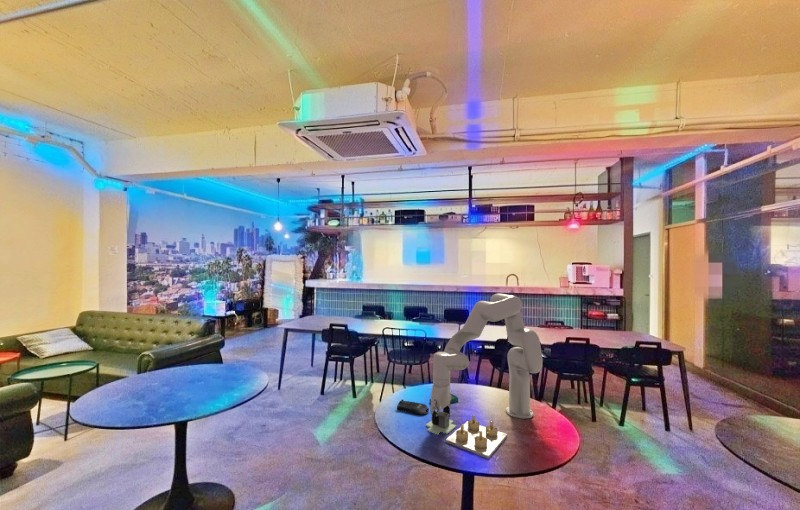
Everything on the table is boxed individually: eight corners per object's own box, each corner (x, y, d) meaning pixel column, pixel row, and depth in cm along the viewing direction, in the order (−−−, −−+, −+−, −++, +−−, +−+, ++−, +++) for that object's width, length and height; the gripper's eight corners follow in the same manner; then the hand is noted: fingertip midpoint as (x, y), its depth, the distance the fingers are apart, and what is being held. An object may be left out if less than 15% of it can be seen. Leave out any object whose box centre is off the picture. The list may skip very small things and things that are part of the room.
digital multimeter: (428, 403, 170) (428, 398, 170) (448, 397, 179) (448, 391, 179) (438, 409, 164) (438, 403, 164) (458, 402, 173) (458, 396, 173)
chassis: (467, 423, 148) (467, 408, 148) (507, 436, 137) (507, 420, 138) (445, 442, 132) (445, 425, 132) (488, 458, 121) (488, 440, 122)
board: (438, 417, 154) (438, 405, 154) (459, 424, 147) (459, 411, 147) (421, 429, 143) (422, 415, 143) (444, 437, 136) (444, 423, 136)
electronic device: (396, 415, 159) (425, 416, 154) (395, 403, 160) (424, 403, 155) (402, 410, 168) (431, 411, 163) (402, 398, 169) (430, 399, 164)
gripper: (443, 374, 155) (443, 411, 154) (423, 384, 141) (423, 424, 141) (458, 377, 150) (457, 415, 150) (438, 388, 137) (438, 430, 136)
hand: (441, 420), depth 145 cm, fingers open, 9 cm apart
